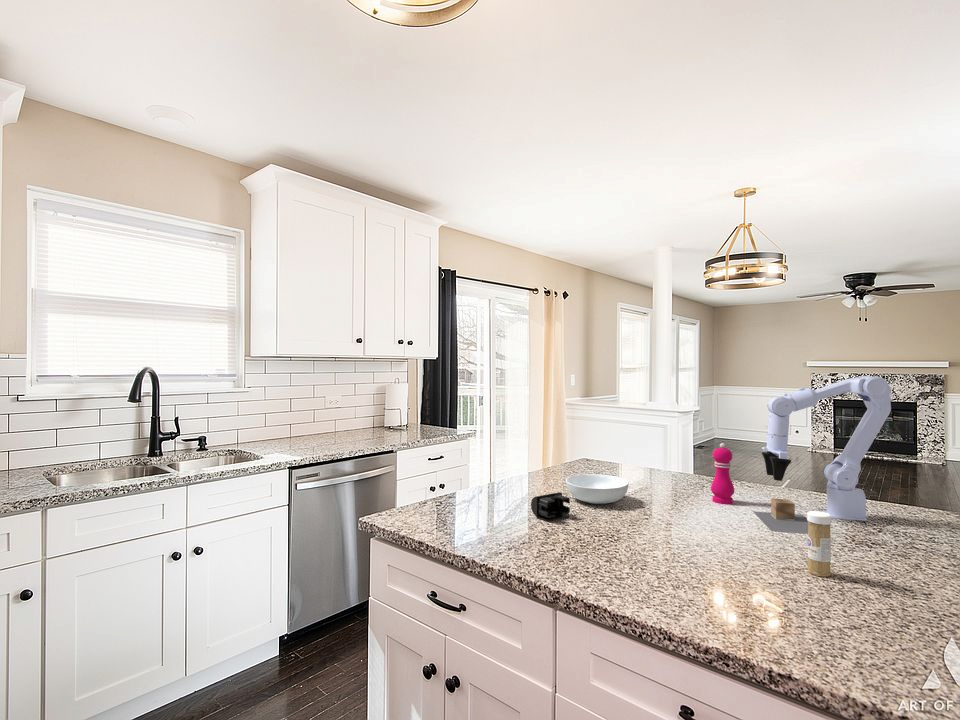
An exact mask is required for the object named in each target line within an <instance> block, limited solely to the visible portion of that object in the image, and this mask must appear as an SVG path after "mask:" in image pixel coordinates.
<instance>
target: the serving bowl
mask: <svg viewBox="0 0 960 720" xmlns="http://www.w3.org/2000/svg"><path fill="white" fill-rule="evenodd" d="M565 485H566V489H567V490H568V492H569V493H570V495H571V496H572V497H574V498H576V499H577V500H580V501H582V502H585V503H589V504H593V505H595V504H596V505H606V504H610V503H611V504H612V503H614V502H618V501H620V500H621V499H623V498H624V497H625V495H626V494H627V492H628V490H629V485H630V484H629V481H628V480H627V479H625V478H622V477H618V476H615V475H614V476H613V475H609V474H600V473H599V474H597V473H582V474H575V475H571V476H568V477H567V478H566V479H565Z"/></svg>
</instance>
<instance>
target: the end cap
mask: <svg viewBox="0 0 960 720" xmlns="http://www.w3.org/2000/svg"><path fill="white" fill-rule="evenodd" d="M564 503H567V504H570V503H571V499H570V497H567V496H565V495H563V492H560V491H559V492H554V493H547V494H543V495H542V494H541V495H536V496H533V497H532V499H531V502H530V508H531V511H532V513H533V515H534V516H535V517H536V518H537V519H538V520H540V521H542V520H543V521H542V522H546V523H550V522H555V521H560V520H564V519H569V518H570V516H569V514H570V512H571V511H570V510H571V507H569V506H566V505H564Z"/></svg>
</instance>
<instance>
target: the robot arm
mask: <svg viewBox="0 0 960 720" xmlns="http://www.w3.org/2000/svg"><path fill="white" fill-rule="evenodd" d="M846 393H850V394H856V395H857V396H858V397H859V398H860V399H861V400H862V401H863V403H864V405H865V407H866V409H867V410H866V411H865V412H864V414H863V416H862V417H861V420H860V421H859V422H858V425H857V426H856V427H855V429H854V432H853V433H852V435H851V437H850V438H849V440H848V442H847V444H846V445H845V446H844V449H843V450H842V452H841V453H840V454H839V455H838V456H836V457H835V458H834V459H833V460H832V462H831V463H829V464H828V465H826V466H825V468H824V470H823V471H824V472H823V473H824V477H825V478H826V480H827V483H826V509H825V510H824V509H822V510H821V512H825V513H828V514H830V515H831V519H834V520H836V519H837V520H848V521H849V520H850V521H861V522H862V521H864V522H865V521H866V522H867V521H868V519H867V499H866V494H865V492H864V490H863V489H862V488H857V487H856V486H857V485H858V483H859V474H860V472H861V470H862V468H861V467H862V466H861V462H862V460H863V459H864V457H865V455H866V454H867V452H868V451H869V449H870V448H871V446H872V444H873V442H874V440H875V438H876V437H877V435H878V433H879V432H880V431H881V429H882V427H883V425H884V423H885V422H886V420H887V418H888V416H889V415H890V413H891V411H892V404H891V401H892V400H891V393H892V387H891V386H890V384H889V382H888V381H887V380H886V379H885V378H883V377H881V376H870V375H869V376H868V375H860V376H857V377H850V378H847V379H844V380H840V381H837V382H835V383H831V384H829V385H825V386H823V387H820V388H817V389H814V390H813V389H811V388H808V387H806V388H805V387H799V388H798V390H797V391H793V392H791V393H787V392H784V393H783V394H782V396H775V397H774V396H773V397H772V398H771V399H770V400H769V401H768V403H767V405H766V406H767V410H768V411H769V415H768V416H769V417H768V423H767V433H766V434H767V436H766V446H762V447H761V449H762V450H763V451H762V452H761V456H762V457H763V461H764V464H765V471H766V475H767V476H771V477H772V476H773V480H774V481H779V482H782V481H783V480H784V476H785V475H786V471H787V469H788V467H789V466H790V464H791V463H792V460H791V459H790V458H788V453H789V452H788V441H789V429H790V416H791V414H792V413H793V412H798V411H801V410H804V409H808V408H811V407H814V406H816V405H817V404H818V402H819V401H820V400H824V399H827V398H831V397H835V396H838V395H843V394H846ZM764 451H766V452H764Z"/></svg>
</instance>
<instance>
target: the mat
mask: <svg viewBox="0 0 960 720" xmlns="http://www.w3.org/2000/svg"><path fill="white" fill-rule="evenodd" d="M752 512H753V513H754V514H755V516H757V518H758V519H759V520H760V521H761V522H762V523H763V524H764V525H765V526H766V527H767V528H768V529H769V530H770V531H771V532H776V533H777V532H778V533H787V534H788V533H790V534H791V533H792V534H803V535H805V534H806V535H808V520H807V516H806V515H804V514H799V513H798V514H797V513H795V521H793V520H778V519H775V518H774V517H773V516H772V515H771V511H770V512H767V511H752Z"/></svg>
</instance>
